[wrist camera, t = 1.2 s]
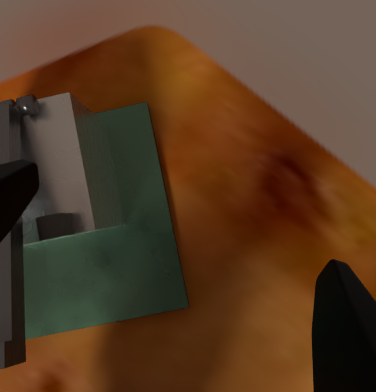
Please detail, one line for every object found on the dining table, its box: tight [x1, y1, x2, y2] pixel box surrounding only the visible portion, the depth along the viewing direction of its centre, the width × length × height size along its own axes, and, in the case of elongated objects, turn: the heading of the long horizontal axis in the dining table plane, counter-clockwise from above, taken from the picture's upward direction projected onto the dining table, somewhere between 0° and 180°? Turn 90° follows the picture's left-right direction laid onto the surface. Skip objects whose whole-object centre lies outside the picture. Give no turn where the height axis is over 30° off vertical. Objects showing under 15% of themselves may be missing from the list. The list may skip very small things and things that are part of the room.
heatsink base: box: [16, 92, 189, 339], centre depth 21 cm, size 16×16×9 cm
